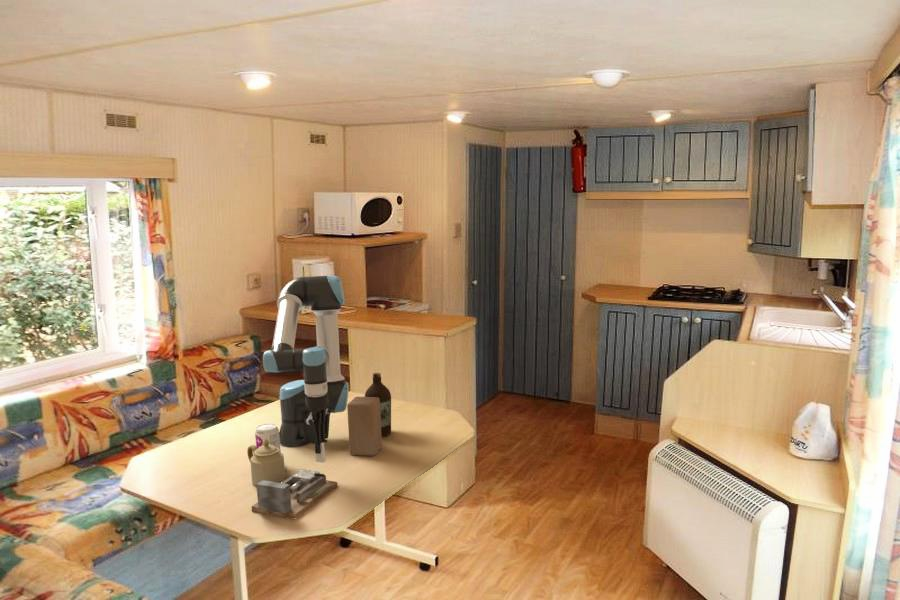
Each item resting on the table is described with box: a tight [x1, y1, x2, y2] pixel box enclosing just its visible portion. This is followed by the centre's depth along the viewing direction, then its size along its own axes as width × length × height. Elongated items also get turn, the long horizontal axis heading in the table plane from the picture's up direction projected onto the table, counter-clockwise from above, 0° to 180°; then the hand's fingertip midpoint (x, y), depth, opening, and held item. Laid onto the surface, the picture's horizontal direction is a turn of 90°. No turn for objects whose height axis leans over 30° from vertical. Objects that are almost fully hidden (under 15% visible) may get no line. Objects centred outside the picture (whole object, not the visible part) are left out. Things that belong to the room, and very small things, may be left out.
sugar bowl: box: [247, 439, 286, 487], centre depth 231 cm, size 15×11×15 cm
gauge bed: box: [251, 470, 339, 520], centre depth 217 cm, size 16×24×10 cm, turn 158°
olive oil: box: [364, 372, 392, 438], centre depth 271 cm, size 11×11×25 cm
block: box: [346, 396, 383, 457], centre depth 253 cm, size 10×10×20 cm
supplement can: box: [254, 423, 282, 453], centre depth 242 cm, size 8×8×15 cm
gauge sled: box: [290, 468, 326, 493], centre depth 219 cm, size 10×11×5 cm
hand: (320, 461), depth 230 cm, fingers closed
